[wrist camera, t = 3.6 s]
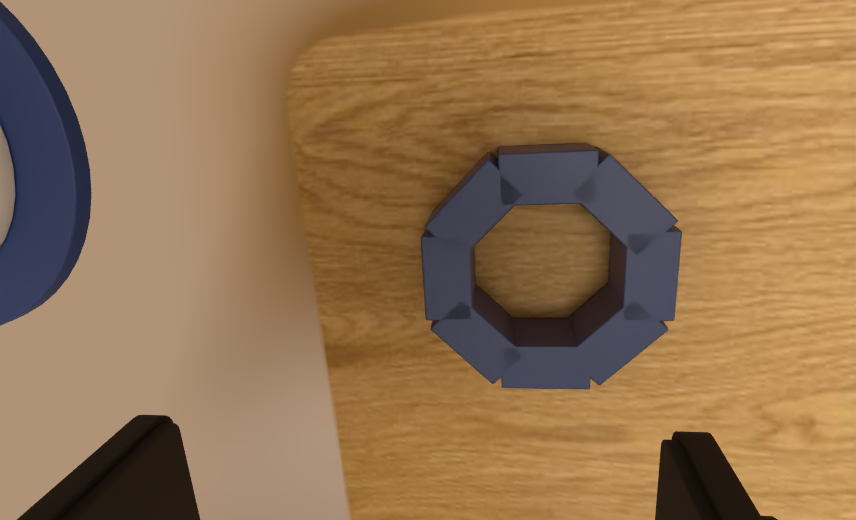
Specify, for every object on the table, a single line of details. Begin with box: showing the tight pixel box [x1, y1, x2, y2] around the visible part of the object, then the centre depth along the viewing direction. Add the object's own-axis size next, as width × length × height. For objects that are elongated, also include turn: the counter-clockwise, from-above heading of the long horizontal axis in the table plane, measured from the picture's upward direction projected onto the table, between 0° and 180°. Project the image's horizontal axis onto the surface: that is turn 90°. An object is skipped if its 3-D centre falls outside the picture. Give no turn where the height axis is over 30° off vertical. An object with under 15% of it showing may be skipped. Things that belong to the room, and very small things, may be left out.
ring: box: [421, 143, 682, 389], centre depth 23 cm, size 10×10×3 cm
